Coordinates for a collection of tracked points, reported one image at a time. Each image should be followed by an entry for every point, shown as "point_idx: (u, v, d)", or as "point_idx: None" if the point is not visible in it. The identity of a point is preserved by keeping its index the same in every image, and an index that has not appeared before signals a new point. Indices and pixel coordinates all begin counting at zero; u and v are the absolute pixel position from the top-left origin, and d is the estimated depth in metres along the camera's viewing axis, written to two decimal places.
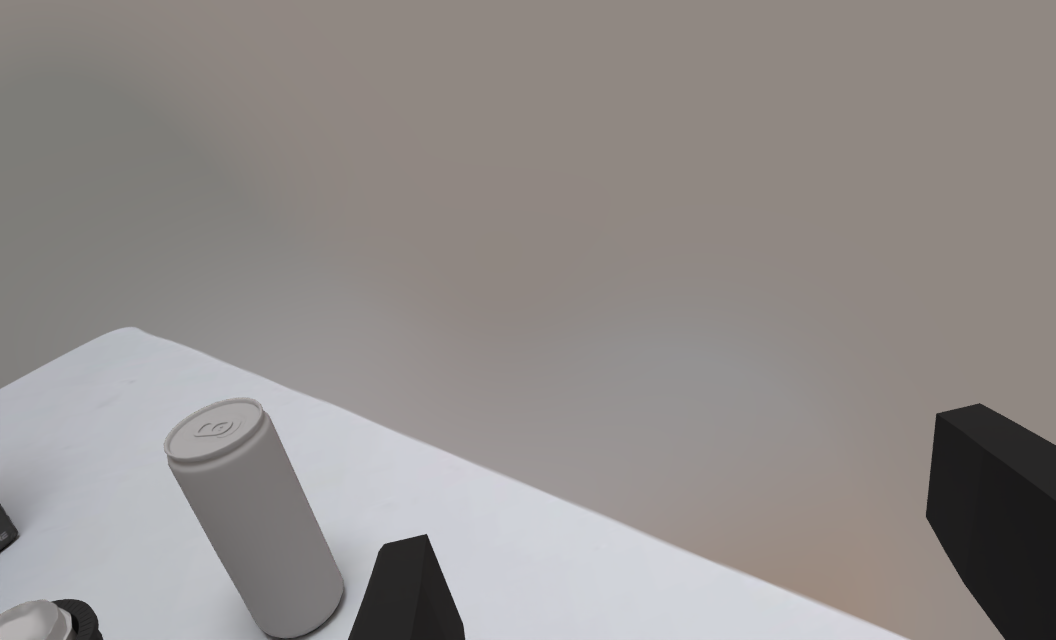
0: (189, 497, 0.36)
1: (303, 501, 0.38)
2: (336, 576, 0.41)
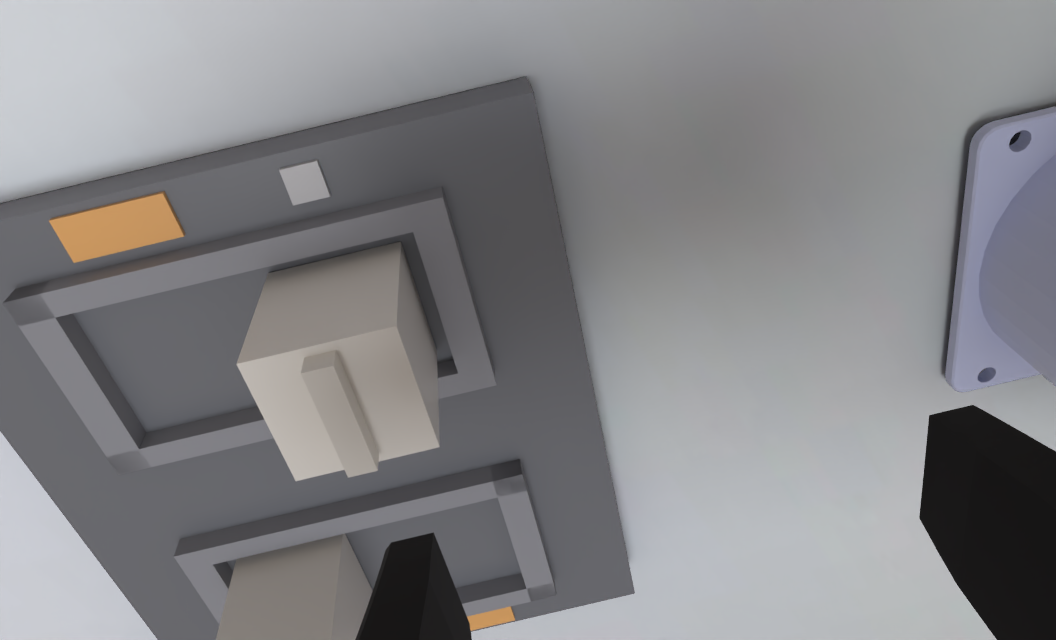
0: None
1: None
2: None
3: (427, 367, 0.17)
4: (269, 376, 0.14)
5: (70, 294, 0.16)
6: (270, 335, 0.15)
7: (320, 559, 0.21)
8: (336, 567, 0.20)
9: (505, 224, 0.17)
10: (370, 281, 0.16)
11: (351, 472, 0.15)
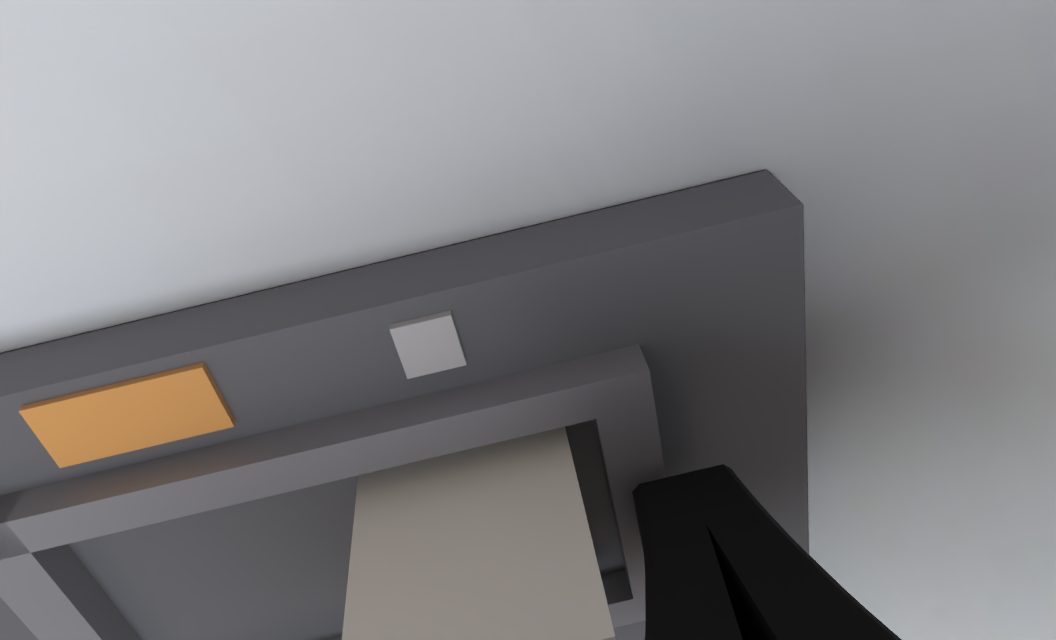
0: None
1: None
2: None
3: None
4: None
5: (54, 520, 0.10)
6: (386, 628, 0.09)
7: None
8: None
9: (726, 394, 0.11)
10: (535, 511, 0.10)
11: None
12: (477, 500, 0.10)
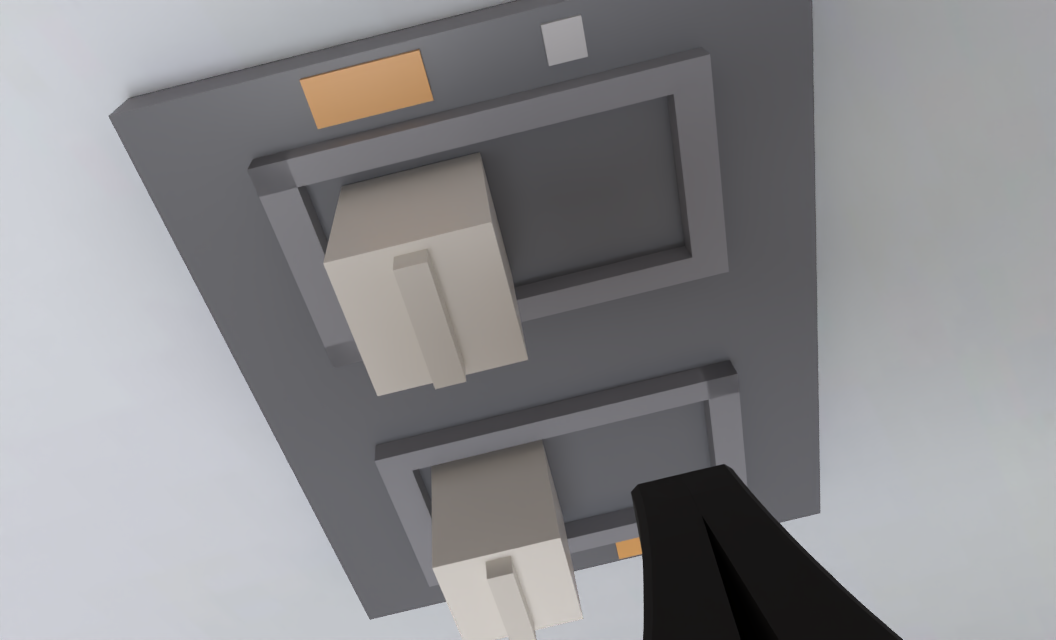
0: None
1: None
2: None
3: (510, 281, 0.16)
4: (356, 277, 0.14)
5: (316, 161, 0.16)
6: (355, 237, 0.14)
7: (524, 465, 0.20)
8: (544, 471, 0.20)
9: (758, 92, 0.16)
10: (454, 187, 0.15)
11: (439, 383, 0.15)
12: (418, 187, 0.16)
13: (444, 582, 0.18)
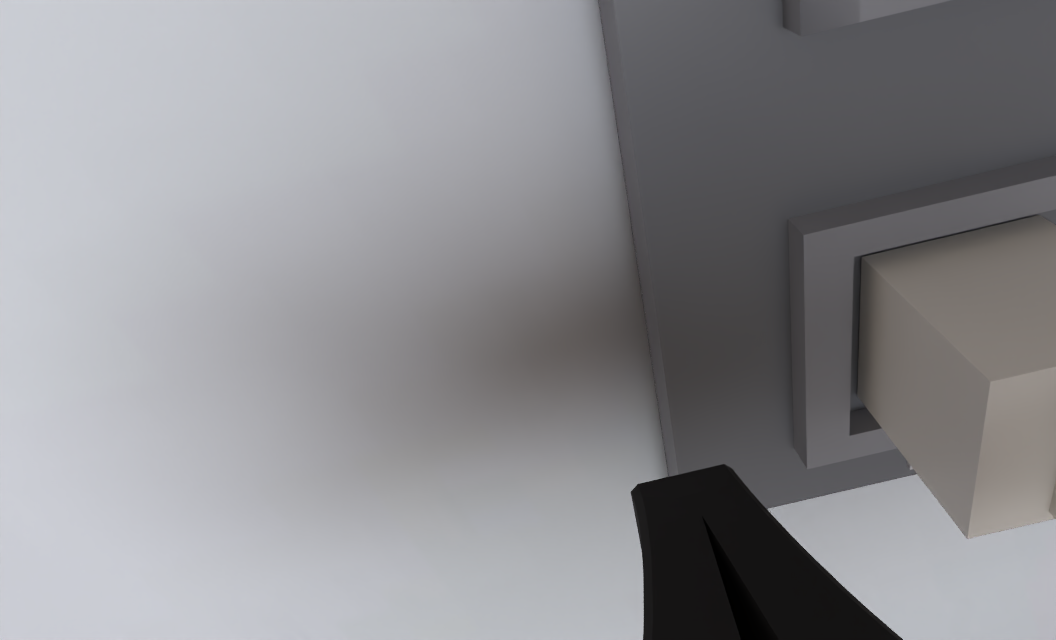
0: None
1: None
2: None
3: None
4: None
5: None
6: None
7: (1042, 246, 0.12)
8: None
9: None
10: None
11: None
12: None
13: (996, 412, 0.10)
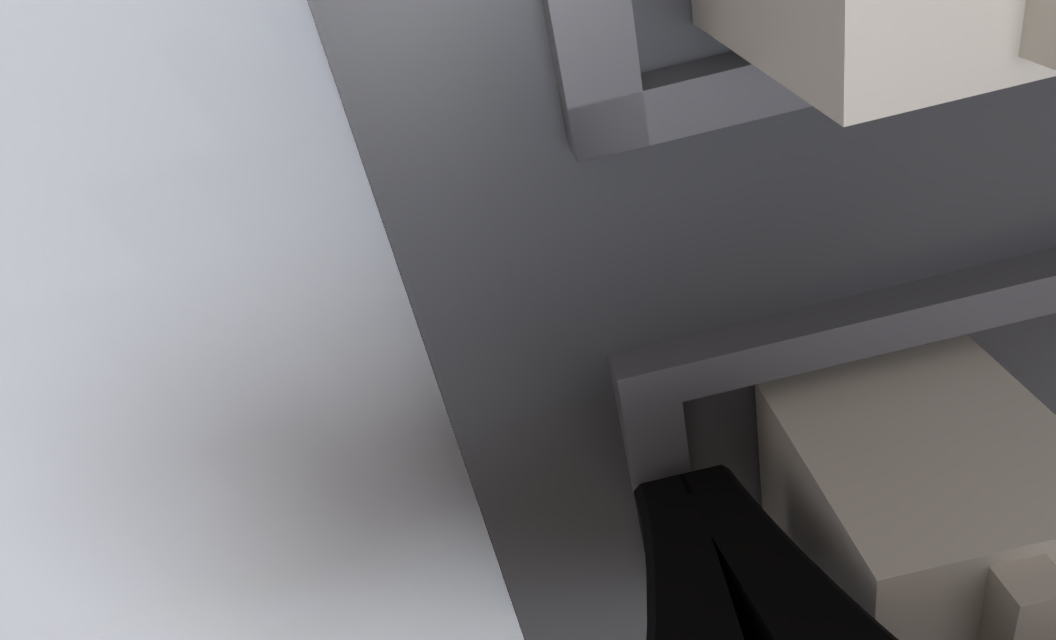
0: None
1: None
2: None
3: None
4: None
5: None
6: None
7: (962, 376, 0.10)
8: (1017, 386, 0.10)
9: None
10: None
11: None
12: None
13: (888, 611, 0.08)
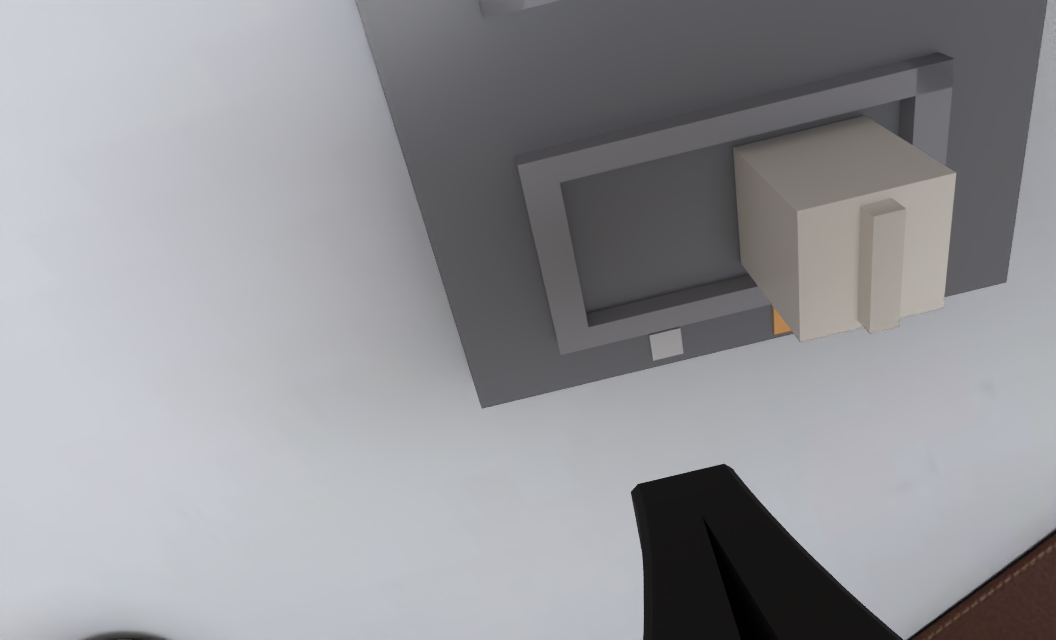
0: None
1: None
2: None
3: None
4: None
5: None
6: None
7: (860, 133, 0.17)
8: (891, 134, 0.16)
9: None
10: None
11: None
12: None
13: (805, 235, 0.15)
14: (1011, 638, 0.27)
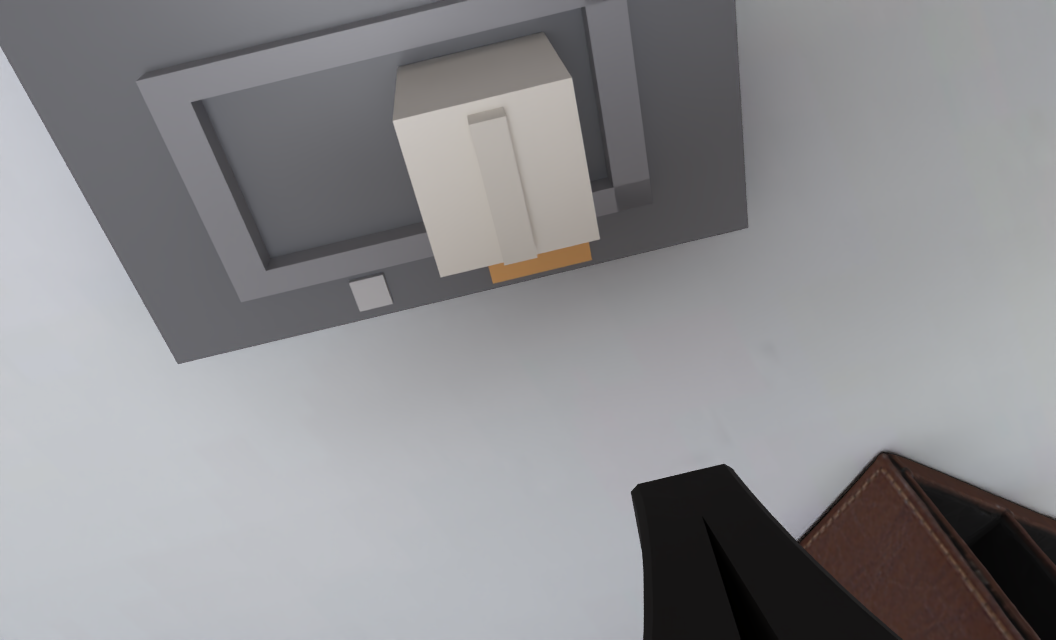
0: None
1: None
2: None
3: None
4: None
5: None
6: None
7: (522, 48, 0.15)
8: (548, 47, 0.15)
9: None
10: None
11: None
12: None
13: (410, 150, 0.13)
14: None
